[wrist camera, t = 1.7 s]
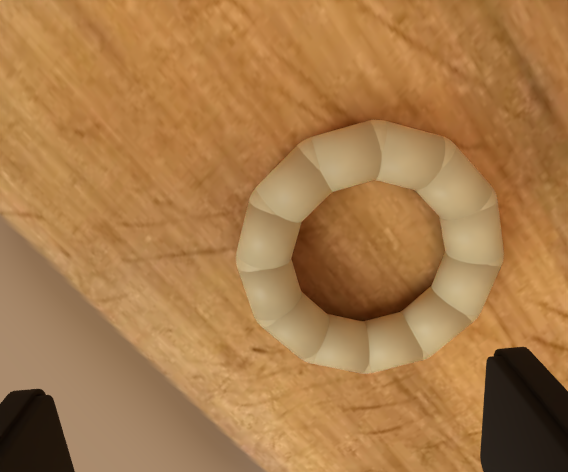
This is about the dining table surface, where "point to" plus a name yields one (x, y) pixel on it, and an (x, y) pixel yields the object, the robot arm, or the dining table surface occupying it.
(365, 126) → the bracelet
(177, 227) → the dining table surface
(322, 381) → the dining table surface
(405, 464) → the dining table surface
